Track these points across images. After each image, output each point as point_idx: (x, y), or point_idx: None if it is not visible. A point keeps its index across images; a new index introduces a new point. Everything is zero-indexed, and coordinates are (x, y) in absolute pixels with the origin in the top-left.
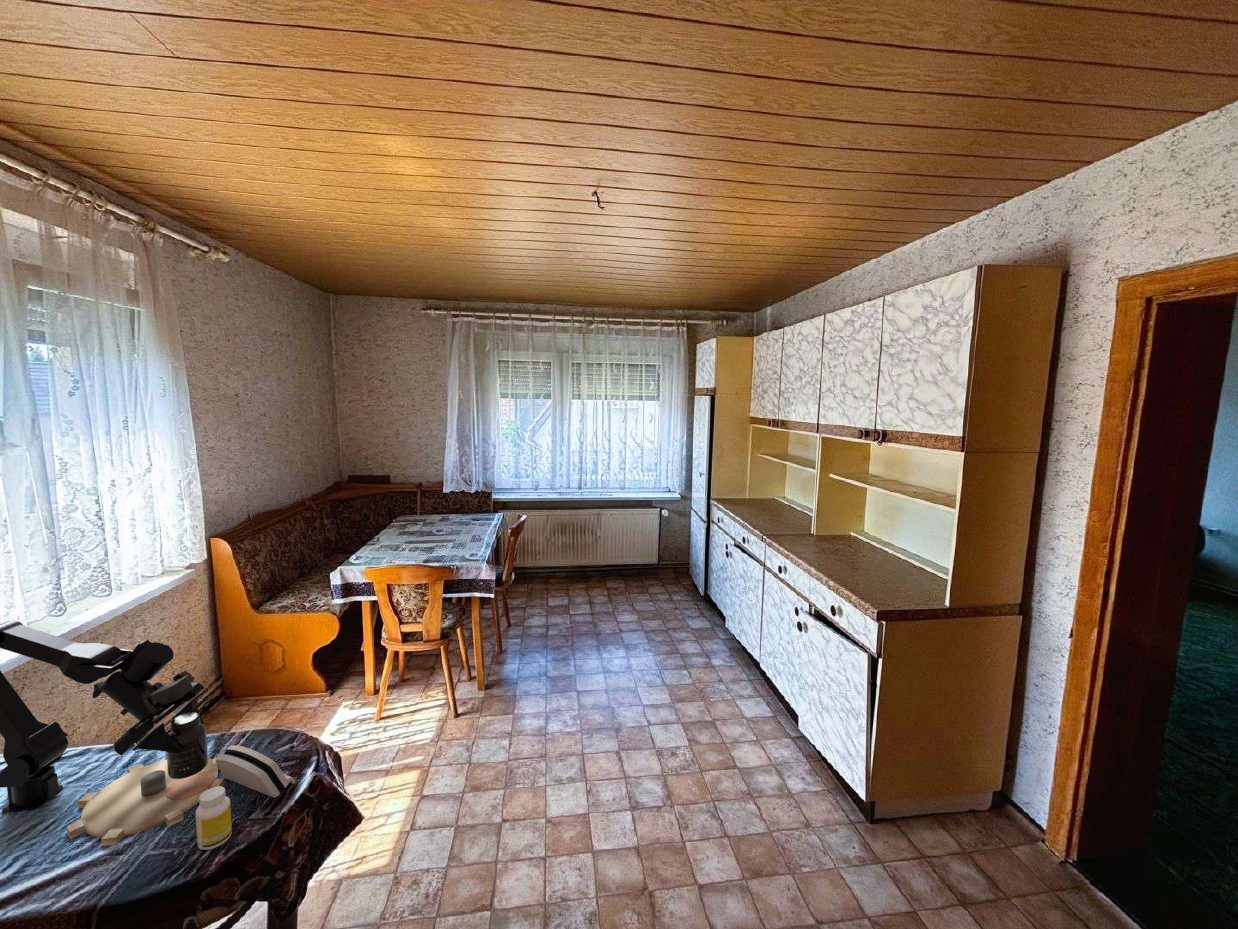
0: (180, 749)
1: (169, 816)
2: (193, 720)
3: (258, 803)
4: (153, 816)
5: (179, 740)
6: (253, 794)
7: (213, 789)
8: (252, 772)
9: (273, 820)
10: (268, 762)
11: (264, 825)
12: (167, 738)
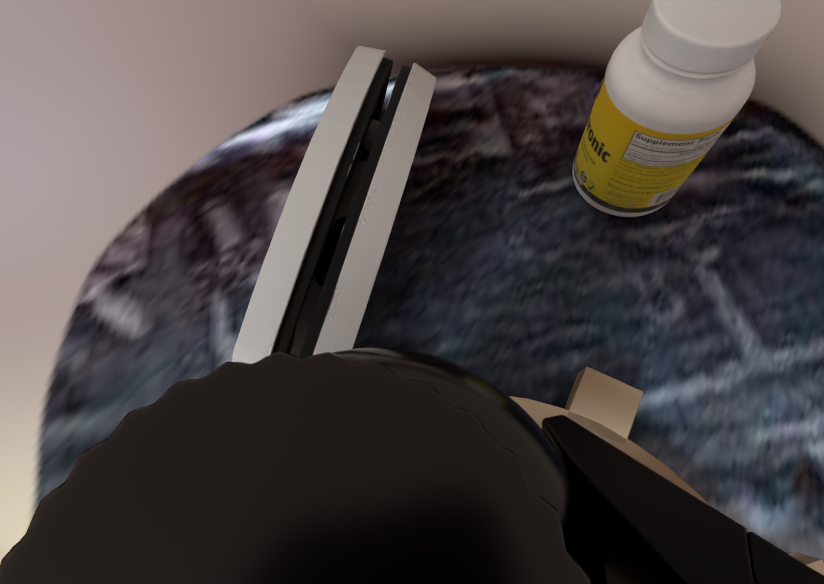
0: (577, 426)
1: (625, 407)
2: (333, 360)
3: (442, 172)
4: None
5: (560, 479)
6: (402, 222)
7: (693, 16)
8: (430, 97)
9: (501, 80)
10: (373, 52)
11: (526, 89)
12: (793, 579)
